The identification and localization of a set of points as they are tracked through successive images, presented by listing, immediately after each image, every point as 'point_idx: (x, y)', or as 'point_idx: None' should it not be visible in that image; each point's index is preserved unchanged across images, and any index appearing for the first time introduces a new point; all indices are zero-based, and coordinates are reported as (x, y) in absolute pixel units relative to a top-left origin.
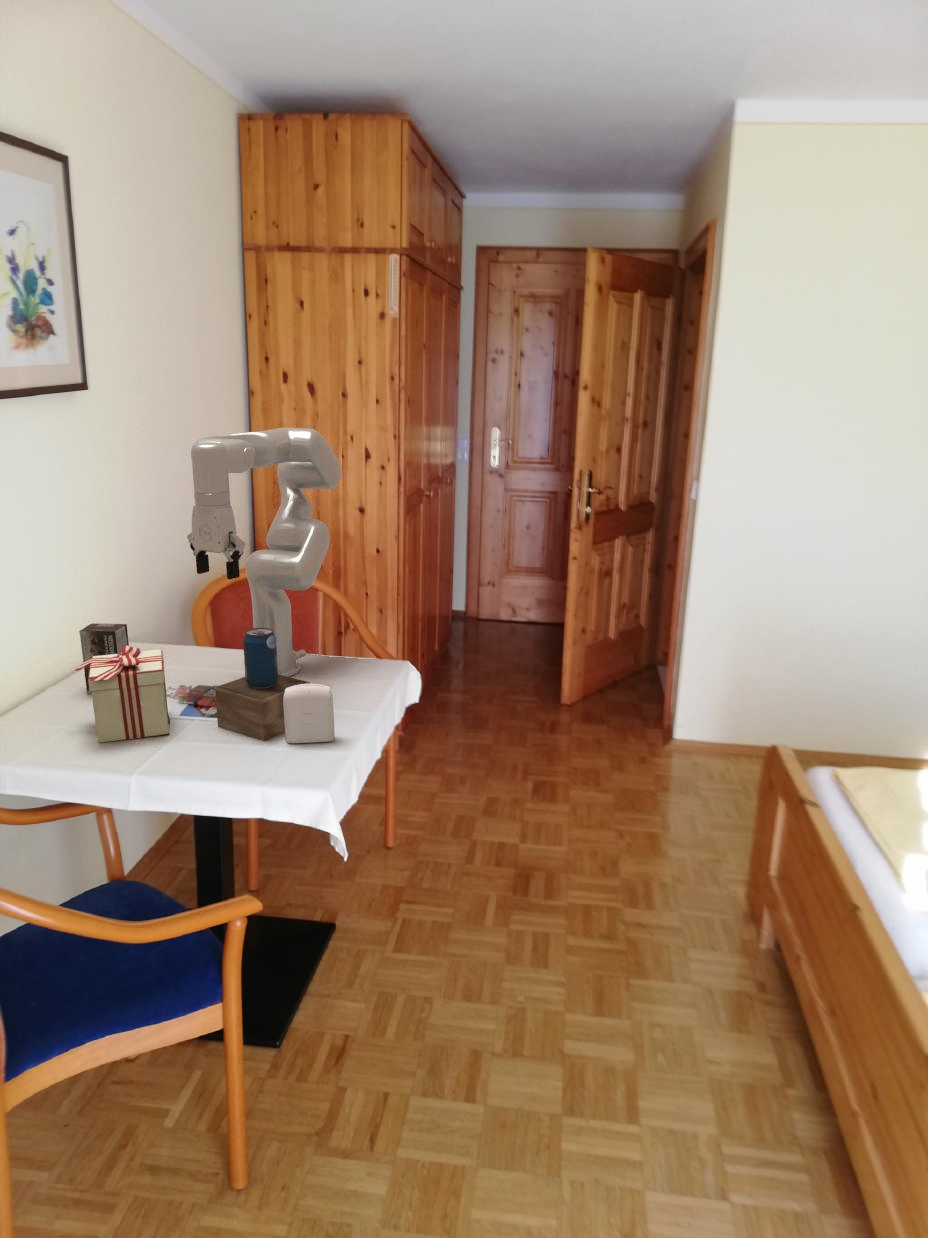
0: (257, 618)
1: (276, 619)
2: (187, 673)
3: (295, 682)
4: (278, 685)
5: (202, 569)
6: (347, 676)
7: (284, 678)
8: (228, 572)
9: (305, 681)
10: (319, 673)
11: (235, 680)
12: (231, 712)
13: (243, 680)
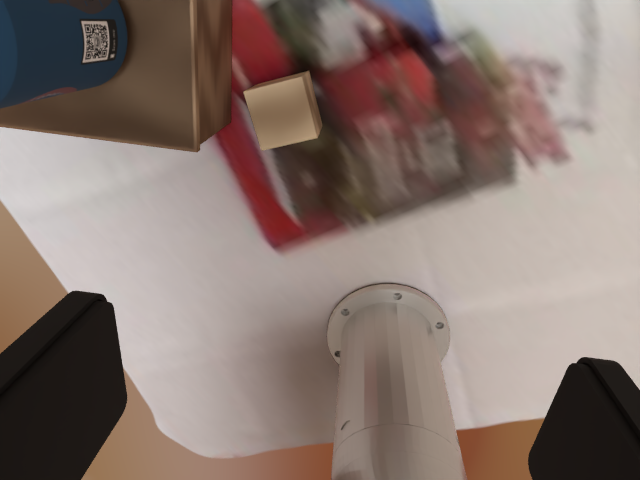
0: (411, 418)
1: (347, 431)
2: (605, 241)
3: None
4: None
5: (574, 427)
6: (223, 364)
7: (77, 116)
8: (22, 336)
9: (6, 124)
10: (288, 358)
11: (189, 10)
12: None
13: (166, 26)
